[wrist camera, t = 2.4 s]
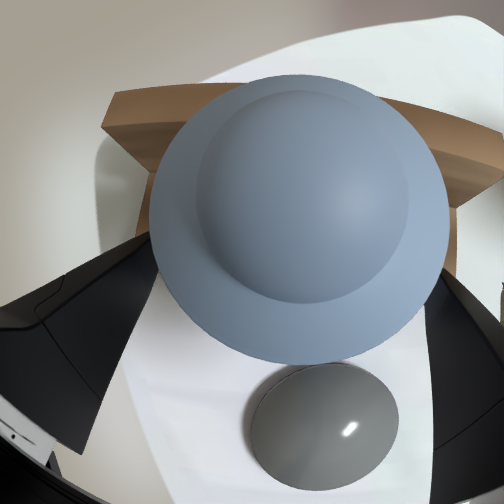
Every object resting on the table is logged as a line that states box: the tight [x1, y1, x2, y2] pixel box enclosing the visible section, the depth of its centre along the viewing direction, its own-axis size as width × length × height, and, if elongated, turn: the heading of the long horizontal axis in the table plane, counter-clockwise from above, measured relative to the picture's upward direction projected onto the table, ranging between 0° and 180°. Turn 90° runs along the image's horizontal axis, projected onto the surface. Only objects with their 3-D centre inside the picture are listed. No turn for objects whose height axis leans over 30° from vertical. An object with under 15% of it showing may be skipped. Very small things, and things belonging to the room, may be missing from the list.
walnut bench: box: [101, 83, 504, 305], centre depth 14 cm, size 8×18×8 cm, turn 82°
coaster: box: [251, 363, 399, 491], centre depth 15 cm, size 9×9×1 cm
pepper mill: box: [149, 75, 450, 365], centre depth 10 cm, size 5×5×15 cm
